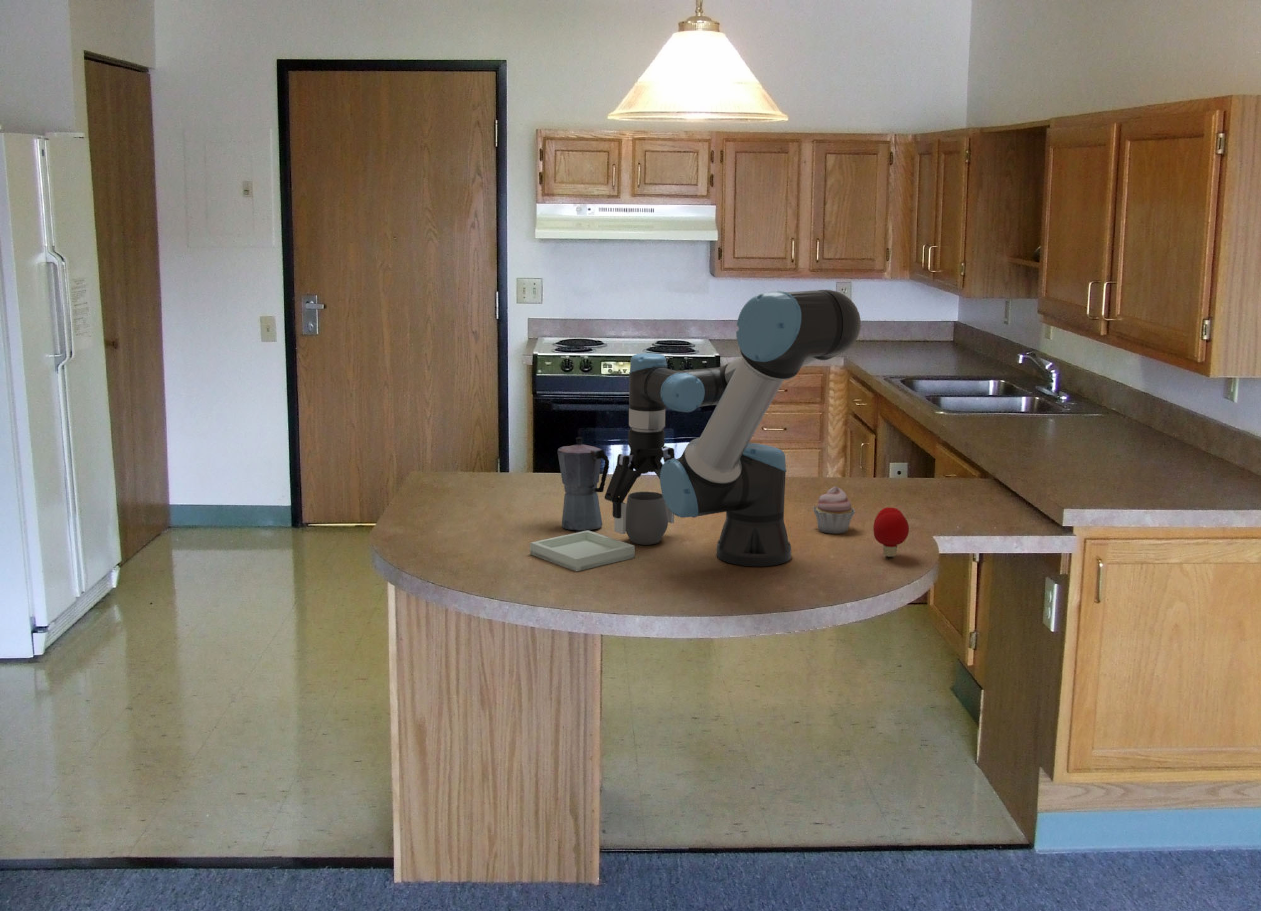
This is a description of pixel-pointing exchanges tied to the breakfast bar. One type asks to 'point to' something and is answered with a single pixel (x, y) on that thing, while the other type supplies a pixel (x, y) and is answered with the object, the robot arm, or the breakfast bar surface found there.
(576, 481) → the moka pot
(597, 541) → the tray
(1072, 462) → the breakfast bar surface
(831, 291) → the robot arm
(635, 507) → the cup
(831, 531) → the cupcake
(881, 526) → the light bulb
